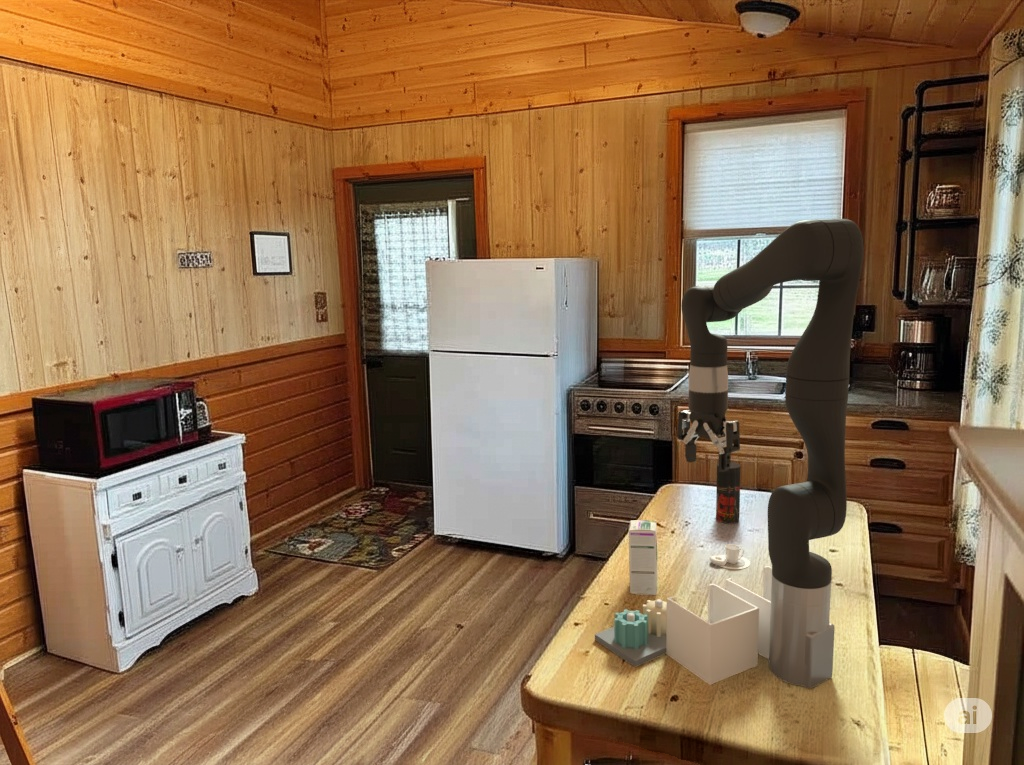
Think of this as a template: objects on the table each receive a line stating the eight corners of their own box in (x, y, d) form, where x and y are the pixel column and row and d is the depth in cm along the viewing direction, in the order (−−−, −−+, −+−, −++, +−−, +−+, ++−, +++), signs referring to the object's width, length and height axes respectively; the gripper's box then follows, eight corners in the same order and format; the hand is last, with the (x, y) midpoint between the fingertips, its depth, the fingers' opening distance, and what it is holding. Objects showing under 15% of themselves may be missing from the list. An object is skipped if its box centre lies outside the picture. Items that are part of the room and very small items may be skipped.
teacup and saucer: (709, 568, 165) (709, 551, 164) (711, 554, 172) (711, 538, 171) (749, 573, 162) (750, 555, 161) (750, 558, 169) (750, 542, 168)
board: (693, 641, 134) (693, 607, 133) (635, 667, 126) (634, 631, 125) (651, 617, 143) (651, 585, 142) (594, 640, 136) (594, 606, 134)
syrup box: (657, 595, 152) (657, 530, 149) (628, 594, 153) (628, 529, 150) (657, 583, 157) (657, 520, 155) (629, 581, 159) (629, 519, 156)
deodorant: (711, 517, 194) (712, 463, 192) (730, 514, 196) (731, 460, 193) (724, 524, 189) (725, 469, 186) (743, 521, 190) (745, 466, 188)
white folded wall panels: (709, 686, 121) (710, 625, 119) (666, 654, 130) (666, 598, 128) (813, 643, 132) (815, 587, 130) (766, 618, 142) (768, 565, 140)
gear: (654, 641, 132) (654, 619, 131) (629, 652, 129) (629, 629, 128) (632, 628, 137) (632, 606, 136) (608, 638, 134) (607, 615, 133)
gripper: (750, 390, 139) (748, 471, 142) (694, 380, 151) (693, 455, 154) (723, 395, 135) (721, 478, 138) (668, 384, 147) (668, 461, 150)
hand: (707, 466), depth 146 cm, fingers open, 8 cm apart
